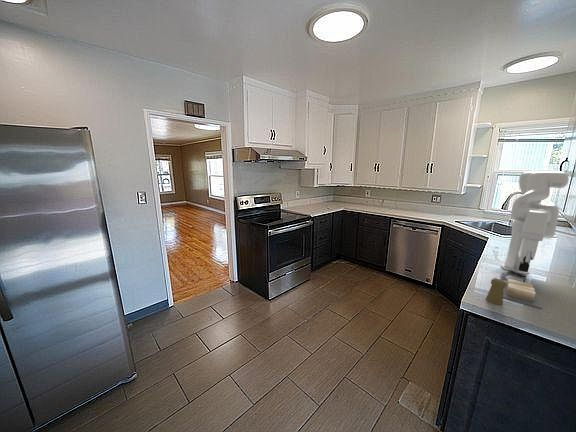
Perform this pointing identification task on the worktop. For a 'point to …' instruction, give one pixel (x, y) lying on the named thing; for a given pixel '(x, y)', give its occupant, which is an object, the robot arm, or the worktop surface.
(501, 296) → the cork
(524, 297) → the maple plaque
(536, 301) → the rubber mat
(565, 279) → the worktop surface
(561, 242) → the worktop surface
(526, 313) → the worktop surface
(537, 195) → the robot arm
